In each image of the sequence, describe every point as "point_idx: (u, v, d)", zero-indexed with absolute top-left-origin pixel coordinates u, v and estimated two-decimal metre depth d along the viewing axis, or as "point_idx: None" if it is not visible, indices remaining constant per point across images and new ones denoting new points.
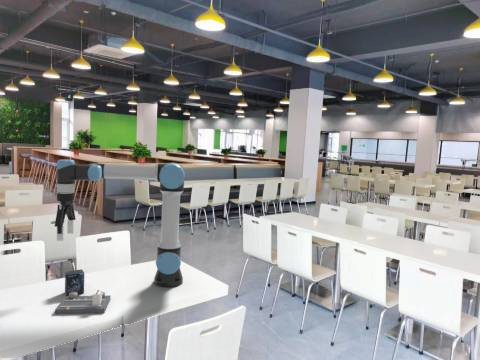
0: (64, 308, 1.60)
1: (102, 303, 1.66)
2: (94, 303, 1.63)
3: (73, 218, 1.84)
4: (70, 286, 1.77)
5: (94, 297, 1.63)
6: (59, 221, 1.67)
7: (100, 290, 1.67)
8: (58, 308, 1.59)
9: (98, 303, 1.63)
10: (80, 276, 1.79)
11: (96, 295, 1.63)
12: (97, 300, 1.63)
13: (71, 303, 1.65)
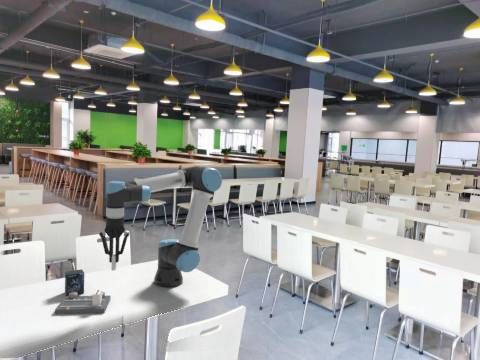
0: (64, 308, 1.60)
1: (102, 303, 1.66)
2: (94, 303, 1.63)
3: (116, 253, 1.64)
4: (70, 286, 1.77)
5: (94, 297, 1.63)
6: None
7: (100, 290, 1.67)
8: (58, 308, 1.59)
9: (98, 303, 1.63)
10: (80, 276, 1.79)
11: (96, 295, 1.63)
12: (97, 300, 1.63)
13: (71, 303, 1.65)
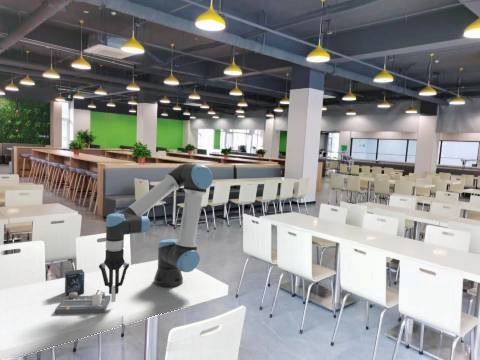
0: (64, 308, 1.60)
1: (102, 303, 1.66)
2: (94, 303, 1.63)
3: (116, 285, 1.65)
4: (70, 286, 1.77)
5: (94, 297, 1.63)
6: None
7: (100, 290, 1.67)
8: (58, 308, 1.59)
9: (98, 303, 1.63)
10: (80, 276, 1.79)
11: (96, 295, 1.63)
12: (97, 300, 1.63)
13: (71, 303, 1.65)
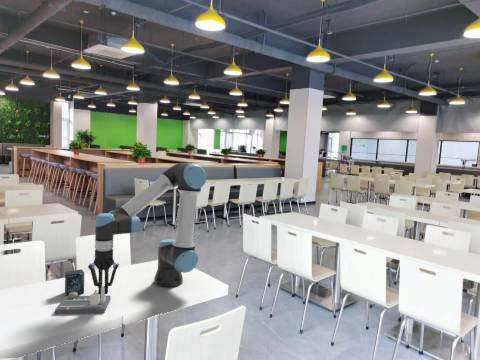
0: (64, 308, 1.60)
1: (102, 303, 1.66)
2: (92, 303, 1.63)
3: (105, 285, 1.64)
4: (70, 286, 1.77)
5: (92, 297, 1.63)
6: None
7: (98, 290, 1.67)
8: (58, 308, 1.59)
9: (96, 303, 1.63)
10: (80, 276, 1.79)
11: (94, 295, 1.63)
12: (94, 300, 1.63)
13: (71, 303, 1.65)
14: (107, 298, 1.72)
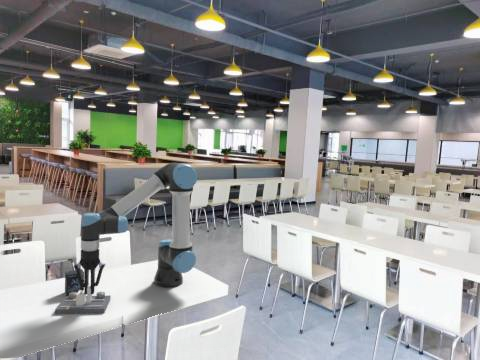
0: (64, 308, 1.60)
1: (102, 303, 1.66)
2: (78, 303, 1.62)
3: (91, 285, 1.63)
4: (70, 286, 1.77)
5: (78, 297, 1.62)
6: None
7: (84, 290, 1.66)
8: (58, 308, 1.59)
9: (82, 303, 1.62)
10: None
11: (80, 295, 1.62)
12: (80, 300, 1.62)
13: (71, 303, 1.65)
14: (107, 298, 1.72)
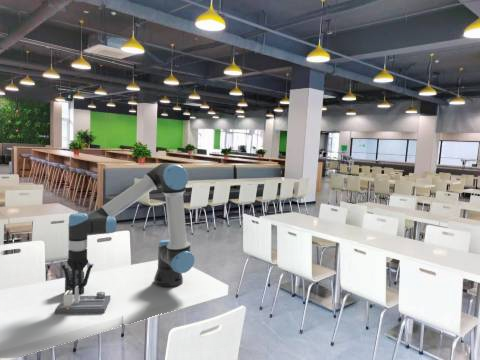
0: (64, 308, 1.60)
1: (102, 303, 1.66)
2: (65, 303, 1.61)
3: (79, 285, 1.62)
4: None
5: (65, 297, 1.61)
6: None
7: None
8: (58, 308, 1.59)
9: (69, 303, 1.61)
10: None
11: (67, 295, 1.61)
12: (68, 300, 1.61)
13: None
14: (107, 298, 1.72)
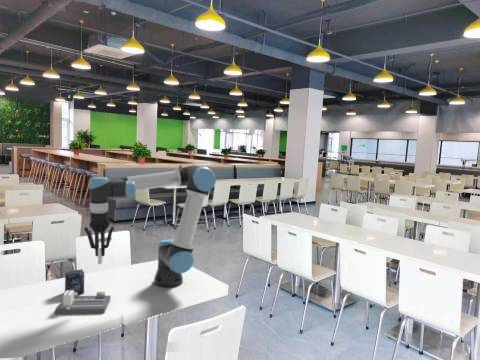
0: (64, 308, 1.60)
1: (102, 303, 1.66)
2: (65, 303, 1.61)
3: (102, 247, 1.68)
4: (70, 286, 1.77)
5: (65, 297, 1.61)
6: None
7: (72, 290, 1.65)
8: (58, 308, 1.59)
9: (69, 304, 1.61)
10: (80, 276, 1.79)
11: (67, 295, 1.61)
12: (68, 300, 1.61)
13: None
14: (107, 298, 1.72)
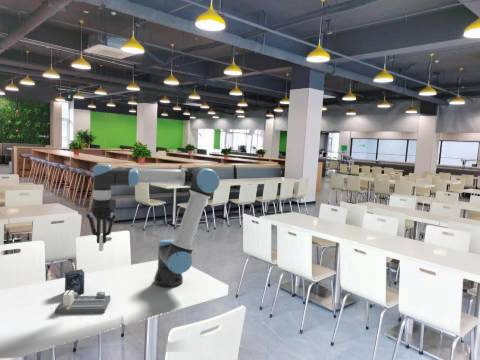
0: (64, 308, 1.60)
1: (102, 303, 1.66)
2: (65, 303, 1.61)
3: (103, 234, 1.69)
4: (70, 286, 1.77)
5: (65, 297, 1.61)
6: None
7: (72, 290, 1.65)
8: (58, 308, 1.59)
9: (69, 304, 1.61)
10: (80, 276, 1.79)
11: (67, 295, 1.61)
12: (68, 300, 1.61)
13: None
14: (107, 298, 1.72)
